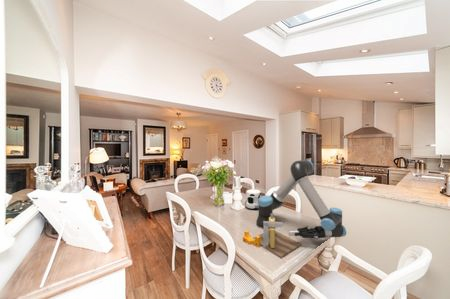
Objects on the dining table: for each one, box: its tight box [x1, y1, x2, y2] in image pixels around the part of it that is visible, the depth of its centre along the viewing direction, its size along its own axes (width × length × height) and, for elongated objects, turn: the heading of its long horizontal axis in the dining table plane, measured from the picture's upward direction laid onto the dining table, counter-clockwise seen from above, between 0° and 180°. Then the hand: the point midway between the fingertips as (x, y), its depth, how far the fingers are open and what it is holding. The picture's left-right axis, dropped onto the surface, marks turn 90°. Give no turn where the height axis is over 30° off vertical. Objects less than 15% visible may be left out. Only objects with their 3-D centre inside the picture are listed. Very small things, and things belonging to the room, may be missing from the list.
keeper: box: [262, 221, 284, 249], centre depth 116 cm, size 12×3×17 cm, turn 80°
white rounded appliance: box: [244, 188, 262, 210], centre depth 188 cm, size 17×17×18 cm
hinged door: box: [268, 212, 276, 248], centre depth 123 cm, size 20×4×15 cm, turn 166°
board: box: [252, 230, 303, 259], centre depth 122 cm, size 22×25×1 cm
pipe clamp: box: [242, 230, 262, 248], centre depth 122 cm, size 12×4×6 cm, turn 43°
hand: (289, 233), depth 119 cm, fingers closed
